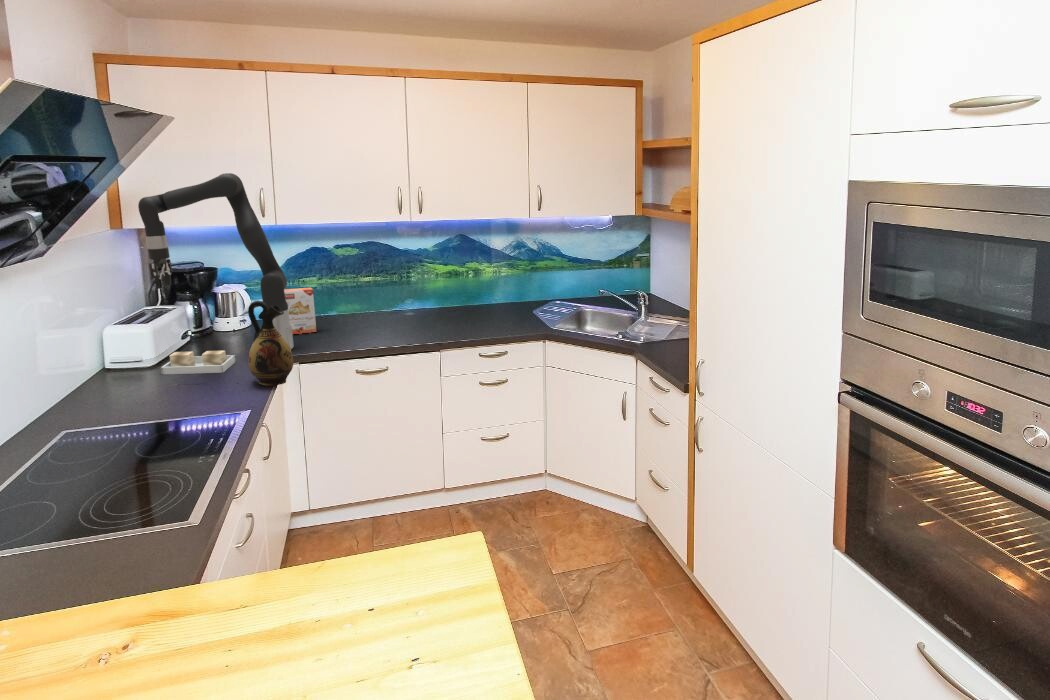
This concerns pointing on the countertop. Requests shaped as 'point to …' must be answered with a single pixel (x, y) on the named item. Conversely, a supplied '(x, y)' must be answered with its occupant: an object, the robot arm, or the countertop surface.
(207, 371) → the white rectangular tray
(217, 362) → the orange-label box
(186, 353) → the tan rounded block
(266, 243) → the robot arm
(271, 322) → the ceramic jug
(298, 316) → the cracker box
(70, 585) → the countertop surface
